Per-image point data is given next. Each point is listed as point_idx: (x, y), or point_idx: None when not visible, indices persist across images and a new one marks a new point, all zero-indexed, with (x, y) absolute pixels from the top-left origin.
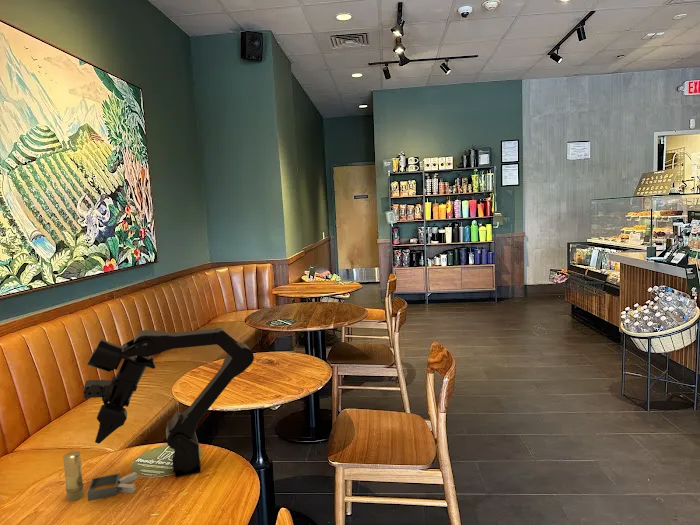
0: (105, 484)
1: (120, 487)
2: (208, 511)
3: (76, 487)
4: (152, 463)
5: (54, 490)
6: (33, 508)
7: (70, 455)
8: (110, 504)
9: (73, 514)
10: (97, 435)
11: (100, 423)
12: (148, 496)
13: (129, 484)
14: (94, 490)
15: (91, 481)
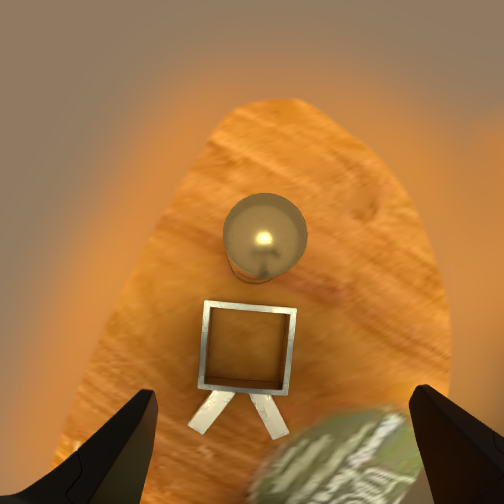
0: (283, 345)
1: (209, 395)
2: None
3: (230, 264)
4: (346, 461)
5: (328, 196)
6: (251, 155)
7: (261, 228)
8: (161, 361)
9: (159, 263)
10: (102, 426)
11: (8, 497)
12: (157, 451)
13: (212, 420)
14: (205, 322)
15: (277, 307)
